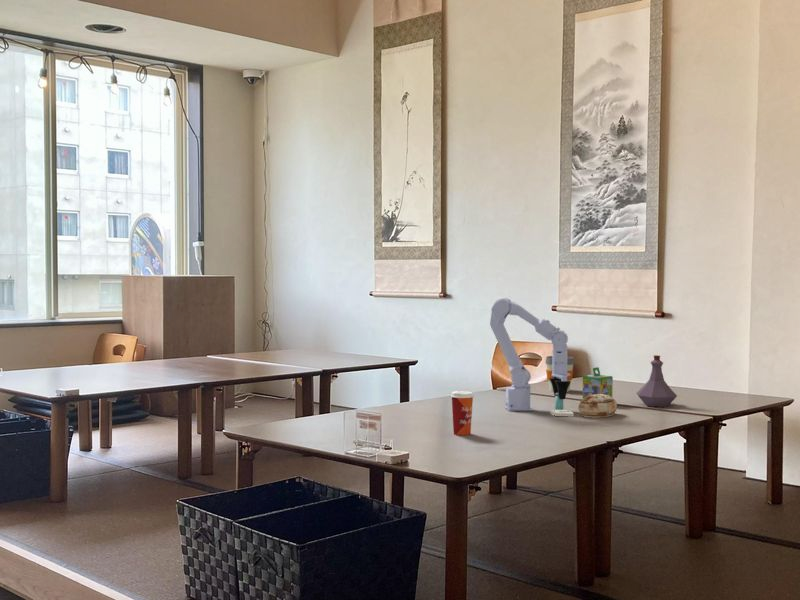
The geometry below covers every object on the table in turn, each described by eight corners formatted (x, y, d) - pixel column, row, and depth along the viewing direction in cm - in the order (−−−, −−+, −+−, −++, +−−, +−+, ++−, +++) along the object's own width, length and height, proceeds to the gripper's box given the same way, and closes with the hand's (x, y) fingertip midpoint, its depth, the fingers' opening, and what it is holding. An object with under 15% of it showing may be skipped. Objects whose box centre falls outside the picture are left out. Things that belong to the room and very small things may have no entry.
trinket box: (618, 413, 350) (618, 392, 350) (613, 419, 336) (613, 398, 336) (583, 411, 355) (583, 391, 354) (576, 417, 341) (576, 396, 340)
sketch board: (555, 416, 341) (555, 413, 341) (550, 413, 349) (550, 409, 349) (573, 416, 342) (573, 413, 342) (568, 412, 350) (568, 409, 350)
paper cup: (466, 437, 301) (467, 394, 301) (446, 434, 305) (446, 392, 305) (477, 433, 308) (478, 391, 307) (457, 430, 312) (457, 390, 311)
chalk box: (601, 406, 365) (602, 369, 365) (581, 404, 372) (582, 367, 371) (613, 404, 372) (613, 367, 372) (593, 401, 378) (593, 366, 378)
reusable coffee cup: (579, 390, 411) (579, 357, 410) (563, 393, 402) (563, 359, 401) (555, 387, 419) (555, 355, 419) (539, 390, 410) (539, 357, 410)
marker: (556, 412, 352) (556, 393, 352) (554, 410, 355) (554, 392, 355) (564, 411, 352) (564, 393, 352) (562, 410, 355) (562, 392, 355)
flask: (627, 402, 375) (628, 354, 374) (663, 401, 380) (663, 353, 379) (649, 409, 359) (649, 358, 359) (685, 407, 364) (686, 357, 363)
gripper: (575, 364, 346) (574, 400, 346) (565, 360, 360) (565, 394, 361) (556, 364, 345) (556, 400, 346) (547, 360, 360) (547, 395, 360)
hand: (559, 397), depth 353 cm, fingers open, 7 cm apart
